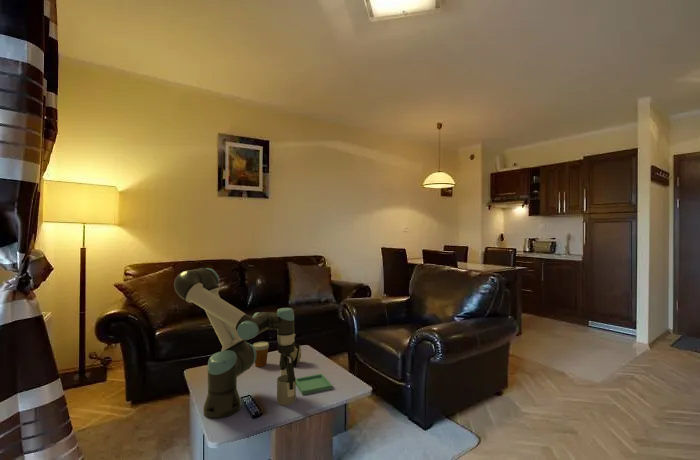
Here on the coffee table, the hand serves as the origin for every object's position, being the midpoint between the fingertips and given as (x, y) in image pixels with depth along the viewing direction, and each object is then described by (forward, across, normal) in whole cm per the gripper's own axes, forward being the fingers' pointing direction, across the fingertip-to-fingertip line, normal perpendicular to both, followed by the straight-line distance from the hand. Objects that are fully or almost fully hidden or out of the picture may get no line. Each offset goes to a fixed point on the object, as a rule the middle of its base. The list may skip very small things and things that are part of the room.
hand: (287, 389), depth 153 cm
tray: (+5, +10, -15) cm, 19 cm away
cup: (+5, 0, 0) cm, 5 cm away
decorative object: (+5, +41, -14) cm, 44 cm away
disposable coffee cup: (+4, +47, +4) cm, 48 cm away
